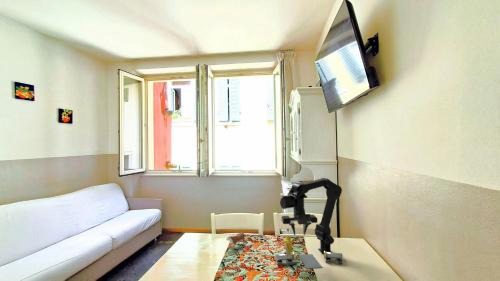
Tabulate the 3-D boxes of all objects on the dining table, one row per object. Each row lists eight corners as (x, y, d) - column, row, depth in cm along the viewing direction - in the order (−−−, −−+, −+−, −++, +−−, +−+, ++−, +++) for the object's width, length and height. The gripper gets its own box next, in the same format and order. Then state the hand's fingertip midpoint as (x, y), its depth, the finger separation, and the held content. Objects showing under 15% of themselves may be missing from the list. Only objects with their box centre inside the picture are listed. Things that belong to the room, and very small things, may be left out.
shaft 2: (324, 262, 124) (324, 253, 124) (323, 258, 128) (323, 249, 128) (342, 264, 121) (342, 254, 121) (341, 260, 126) (341, 251, 126)
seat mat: (298, 255, 131) (298, 254, 131) (312, 254, 132) (312, 254, 132) (306, 268, 117) (306, 268, 117) (322, 267, 118) (322, 267, 118)
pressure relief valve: (295, 252, 134) (294, 235, 134) (283, 262, 125) (282, 243, 125) (287, 250, 138) (286, 233, 137) (275, 258, 129) (274, 240, 128)
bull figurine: (225, 248, 141) (225, 234, 141) (242, 242, 150) (242, 229, 150) (229, 251, 138) (229, 236, 138) (246, 244, 147) (246, 230, 147)
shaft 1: (277, 265, 121) (277, 255, 121) (275, 261, 125) (275, 251, 125) (296, 264, 122) (296, 254, 122) (293, 260, 126) (293, 250, 126)
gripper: (285, 211, 121) (285, 241, 120) (320, 210, 122) (321, 240, 122) (280, 205, 132) (281, 233, 132) (313, 204, 133) (314, 232, 133)
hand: (299, 234), depth 129 cm, fingers open, 5 cm apart
